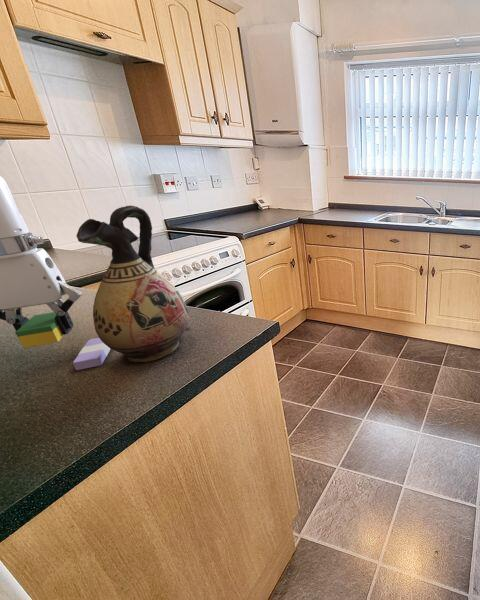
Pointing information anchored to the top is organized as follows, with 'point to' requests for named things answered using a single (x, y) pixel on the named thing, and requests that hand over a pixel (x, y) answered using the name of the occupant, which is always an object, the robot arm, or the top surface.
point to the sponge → (39, 331)
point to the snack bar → (91, 354)
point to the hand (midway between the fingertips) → (49, 334)
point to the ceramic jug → (134, 292)
